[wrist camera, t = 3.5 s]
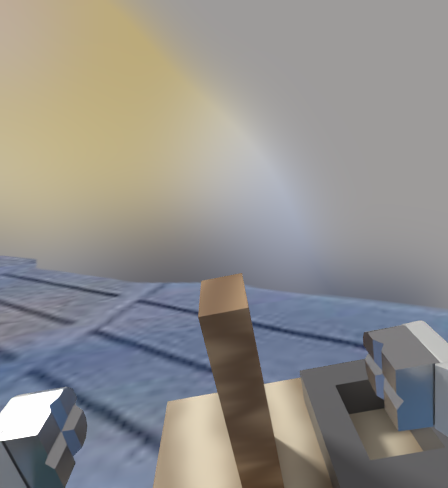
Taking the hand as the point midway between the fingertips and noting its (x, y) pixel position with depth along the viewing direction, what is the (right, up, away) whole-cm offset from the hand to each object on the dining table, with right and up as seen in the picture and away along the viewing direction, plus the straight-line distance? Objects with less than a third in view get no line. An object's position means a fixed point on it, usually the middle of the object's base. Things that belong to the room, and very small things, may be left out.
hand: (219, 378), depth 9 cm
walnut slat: (+3, -14, +18) cm, 23 cm away
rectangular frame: (+13, -12, +18) cm, 25 cm away
